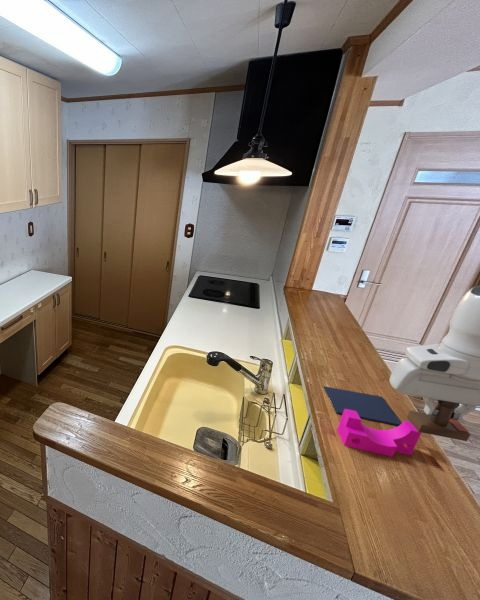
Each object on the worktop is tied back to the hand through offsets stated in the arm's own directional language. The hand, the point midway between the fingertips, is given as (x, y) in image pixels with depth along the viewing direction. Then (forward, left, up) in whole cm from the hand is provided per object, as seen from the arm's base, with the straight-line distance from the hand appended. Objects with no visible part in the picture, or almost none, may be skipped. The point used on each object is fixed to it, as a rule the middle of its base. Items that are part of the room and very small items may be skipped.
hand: (441, 415), depth 71 cm
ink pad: (+1, -28, -19) cm, 34 cm away
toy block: (+4, -10, -19) cm, 22 cm away
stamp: (0, 0, -4) cm, 4 cm away
